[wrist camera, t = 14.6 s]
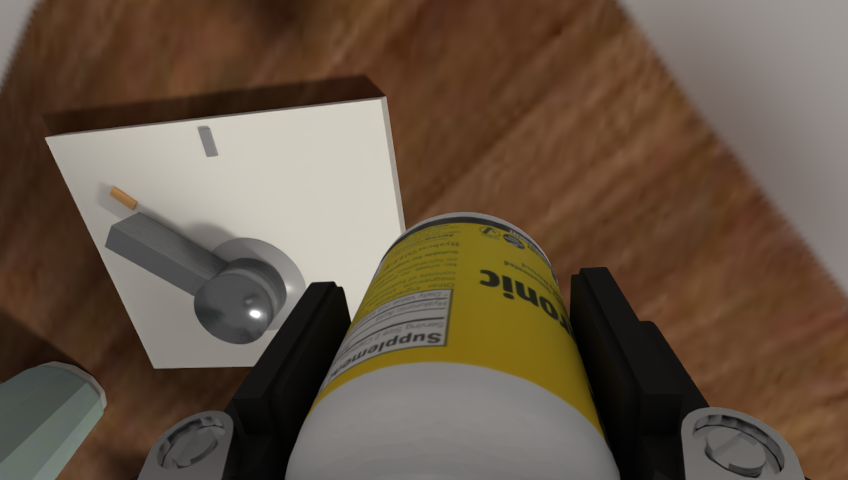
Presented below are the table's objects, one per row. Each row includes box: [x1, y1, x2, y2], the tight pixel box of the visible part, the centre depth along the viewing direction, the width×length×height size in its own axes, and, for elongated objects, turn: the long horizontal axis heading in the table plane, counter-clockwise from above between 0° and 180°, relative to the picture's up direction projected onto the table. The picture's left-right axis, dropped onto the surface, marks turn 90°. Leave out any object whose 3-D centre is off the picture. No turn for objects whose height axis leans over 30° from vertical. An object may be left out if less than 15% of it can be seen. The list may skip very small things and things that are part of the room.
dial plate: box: [45, 96, 406, 369], centre depth 27 cm, size 20×17×2 cm
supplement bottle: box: [285, 212, 621, 480], centre depth 8 cm, size 5×5×10 cm
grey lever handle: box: [105, 212, 287, 344], centre depth 25 cm, size 10×4×3 cm, turn 57°
